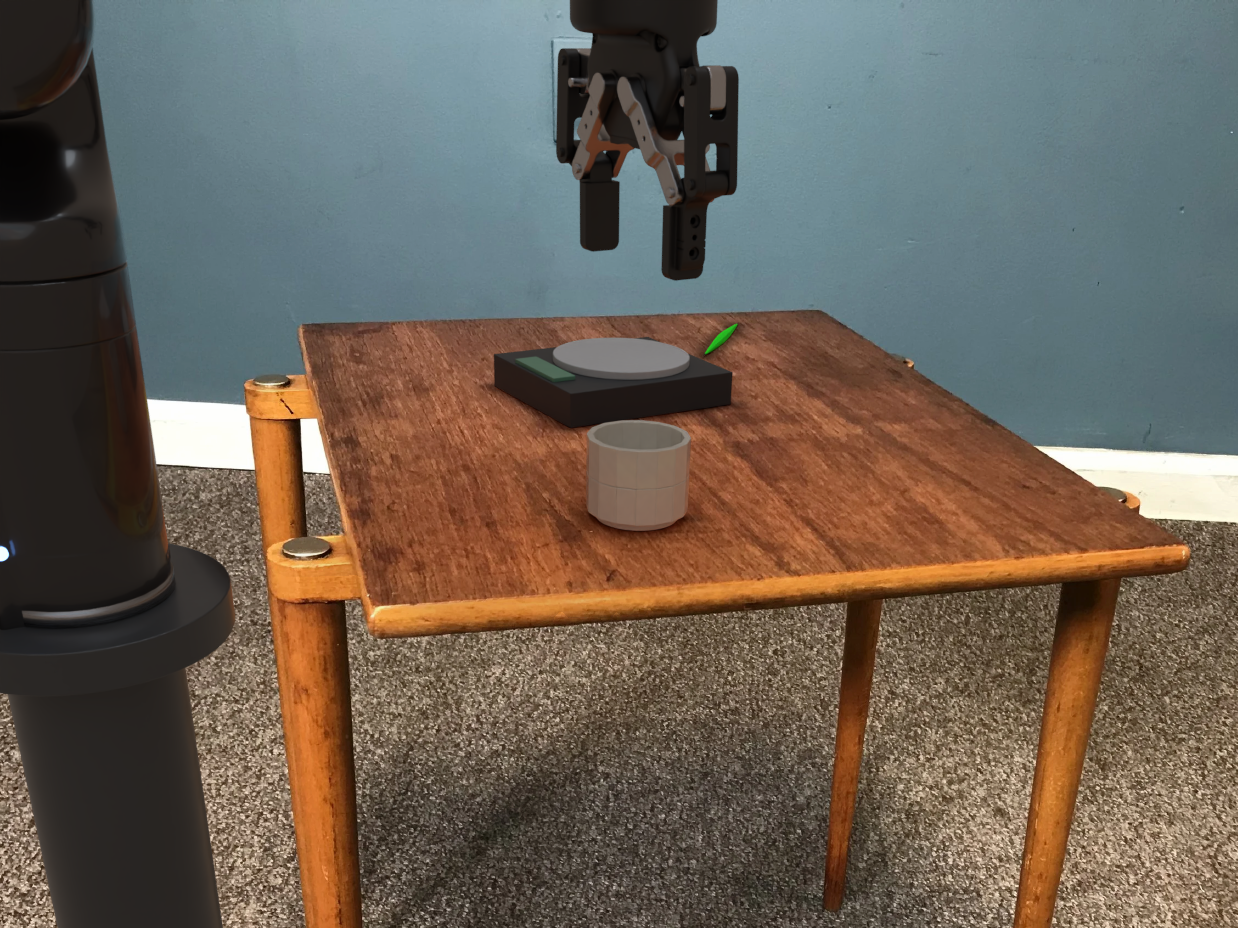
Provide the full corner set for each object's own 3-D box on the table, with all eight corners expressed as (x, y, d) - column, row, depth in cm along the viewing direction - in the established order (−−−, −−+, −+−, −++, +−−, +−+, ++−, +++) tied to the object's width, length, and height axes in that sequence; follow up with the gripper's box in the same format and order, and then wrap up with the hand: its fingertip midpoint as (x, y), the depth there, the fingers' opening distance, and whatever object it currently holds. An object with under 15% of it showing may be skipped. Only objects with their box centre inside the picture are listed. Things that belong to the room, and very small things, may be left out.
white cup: (619, 541, 78) (621, 457, 75) (568, 508, 82) (568, 427, 80) (705, 523, 81) (710, 442, 78) (652, 492, 85) (654, 415, 83)
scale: (570, 428, 96) (570, 385, 95) (494, 386, 105) (493, 346, 104) (730, 404, 103) (733, 364, 102) (647, 366, 112) (648, 329, 111)
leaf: (743, 327, 127) (744, 318, 127) (707, 362, 115) (707, 352, 115) (733, 326, 128) (734, 317, 127) (696, 360, 115) (697, 351, 115)
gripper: (510, -76, 71) (518, 246, 78) (659, -76, 60) (652, 295, 68) (632, -70, 74) (628, 237, 82) (792, -68, 64) (771, 282, 72)
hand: (639, 263), depth 75 cm, fingers open, 8 cm apart
